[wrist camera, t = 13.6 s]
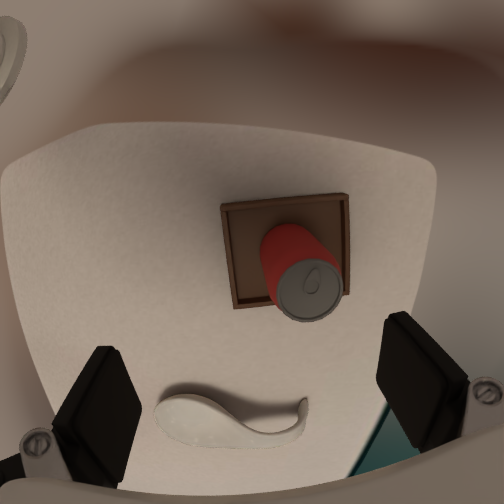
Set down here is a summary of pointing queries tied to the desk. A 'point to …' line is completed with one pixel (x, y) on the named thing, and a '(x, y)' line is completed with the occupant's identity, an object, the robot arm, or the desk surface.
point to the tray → (268, 217)
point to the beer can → (300, 273)
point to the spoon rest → (218, 425)
